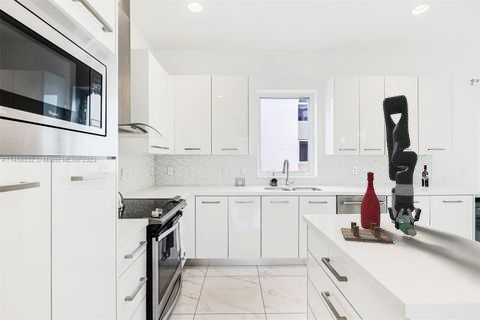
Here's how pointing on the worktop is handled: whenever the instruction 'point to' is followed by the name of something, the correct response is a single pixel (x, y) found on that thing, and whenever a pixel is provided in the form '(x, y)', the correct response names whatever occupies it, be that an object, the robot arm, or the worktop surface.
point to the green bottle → (406, 227)
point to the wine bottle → (370, 205)
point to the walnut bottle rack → (365, 234)
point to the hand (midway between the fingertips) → (404, 229)
